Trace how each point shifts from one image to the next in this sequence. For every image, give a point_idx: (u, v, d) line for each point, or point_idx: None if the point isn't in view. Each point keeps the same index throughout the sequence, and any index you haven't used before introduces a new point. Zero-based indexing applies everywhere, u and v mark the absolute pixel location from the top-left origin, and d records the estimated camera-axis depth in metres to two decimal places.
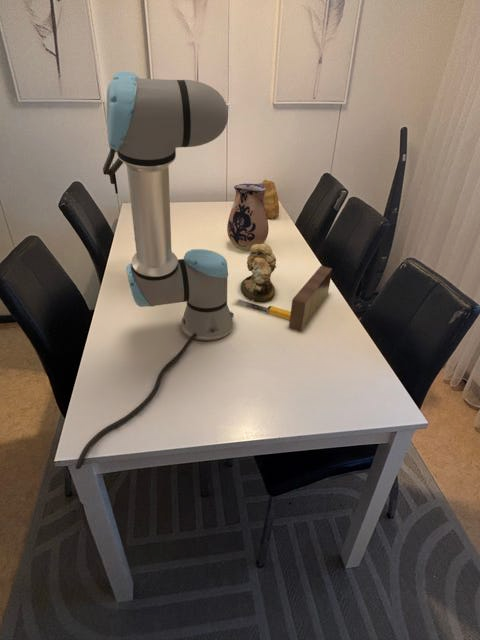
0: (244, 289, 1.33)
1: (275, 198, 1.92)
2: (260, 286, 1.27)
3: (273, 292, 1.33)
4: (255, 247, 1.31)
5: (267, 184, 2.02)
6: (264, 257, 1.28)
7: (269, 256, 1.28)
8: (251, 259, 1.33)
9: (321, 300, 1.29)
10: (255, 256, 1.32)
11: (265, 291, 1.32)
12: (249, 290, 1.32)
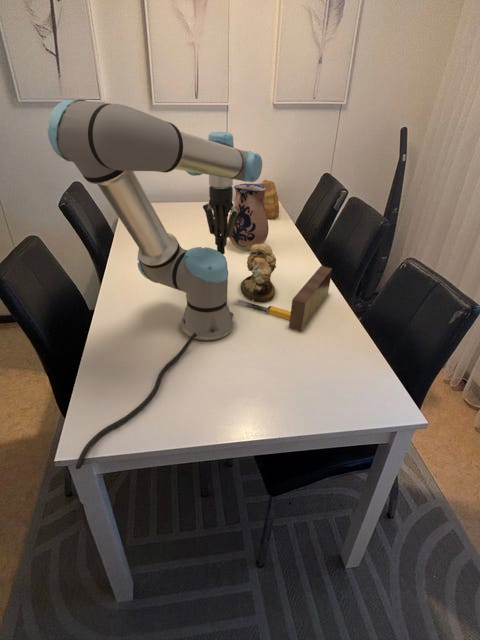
0: (244, 289, 1.33)
1: (275, 198, 1.92)
2: (260, 286, 1.27)
3: (273, 292, 1.33)
4: (255, 247, 1.31)
5: (267, 184, 2.02)
6: (264, 257, 1.28)
7: (269, 256, 1.28)
8: (251, 259, 1.33)
9: (321, 300, 1.29)
10: (255, 256, 1.32)
11: (265, 291, 1.32)
12: (249, 290, 1.32)
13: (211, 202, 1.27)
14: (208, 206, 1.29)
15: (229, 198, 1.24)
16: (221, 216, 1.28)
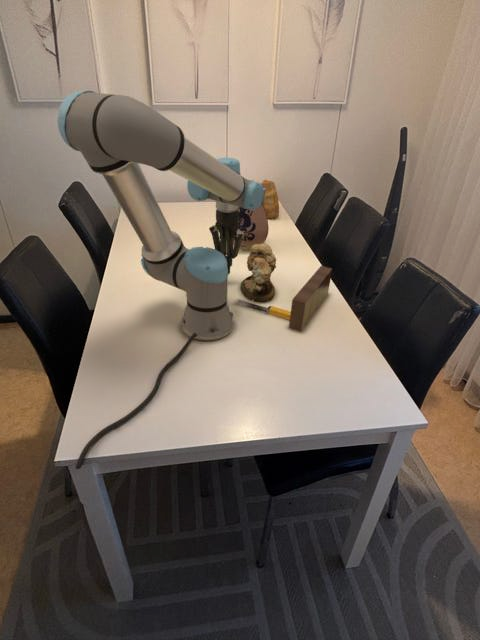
0: (244, 289, 1.33)
1: (275, 198, 1.92)
2: (260, 286, 1.27)
3: (273, 292, 1.33)
4: (255, 247, 1.31)
5: (267, 184, 2.02)
6: (264, 257, 1.28)
7: (269, 256, 1.28)
8: (251, 259, 1.33)
9: (321, 300, 1.29)
10: (255, 256, 1.32)
11: (265, 291, 1.32)
12: (249, 290, 1.32)
13: (217, 224, 1.30)
14: (214, 228, 1.32)
15: (235, 221, 1.27)
16: (227, 238, 1.30)
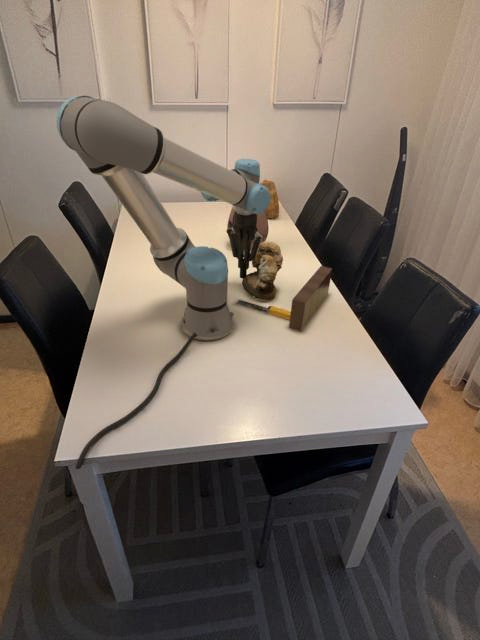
0: (246, 284, 1.32)
1: (275, 198, 1.92)
2: (264, 283, 1.27)
3: (274, 292, 1.33)
4: (264, 244, 1.31)
5: (267, 184, 2.02)
6: (272, 255, 1.28)
7: (277, 255, 1.28)
8: (258, 256, 1.32)
9: (321, 300, 1.29)
10: (262, 253, 1.32)
11: (267, 289, 1.31)
12: (251, 286, 1.31)
13: (235, 227, 1.28)
14: (232, 230, 1.30)
15: (254, 224, 1.24)
16: (245, 241, 1.28)
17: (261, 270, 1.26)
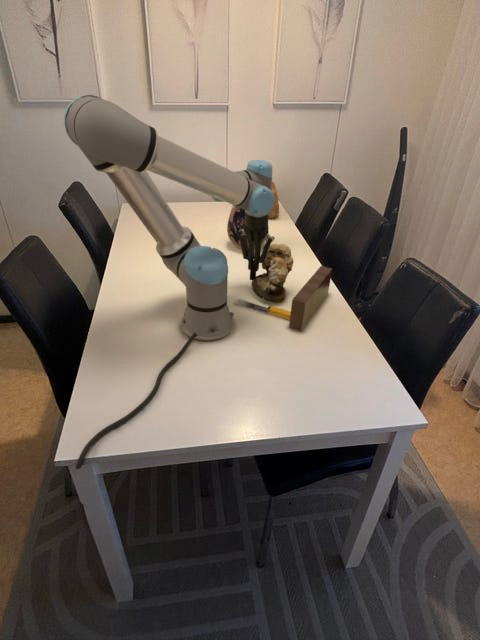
0: (256, 286, 1.31)
1: (275, 198, 1.92)
2: (274, 286, 1.26)
3: (284, 294, 1.32)
4: (274, 246, 1.30)
5: None
6: (283, 258, 1.27)
7: (288, 258, 1.27)
8: (268, 257, 1.31)
9: (321, 300, 1.29)
10: (273, 255, 1.31)
11: (277, 292, 1.30)
12: (261, 288, 1.30)
13: (246, 228, 1.26)
14: (242, 232, 1.28)
15: (265, 226, 1.23)
16: (256, 243, 1.27)
17: (271, 272, 1.25)
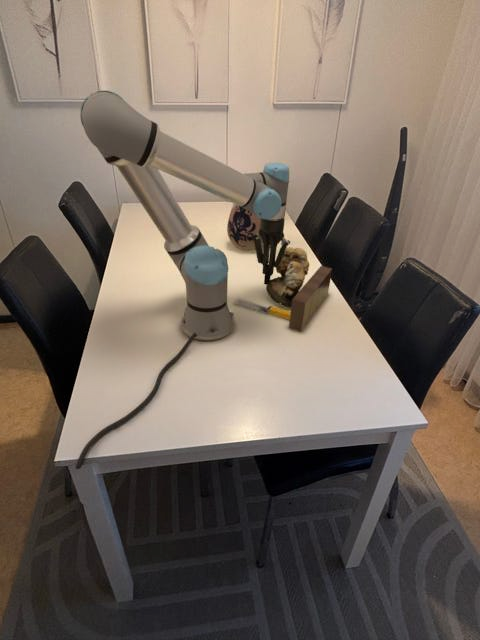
0: (271, 291, 1.29)
1: None
2: (291, 290, 1.24)
3: None
4: (290, 250, 1.28)
5: None
6: (299, 262, 1.25)
7: (304, 261, 1.25)
8: (283, 261, 1.29)
9: (321, 300, 1.29)
10: (288, 259, 1.28)
11: (293, 296, 1.28)
12: (277, 293, 1.27)
13: (261, 232, 1.24)
14: (257, 236, 1.26)
15: (281, 229, 1.21)
16: (271, 246, 1.25)
17: (288, 277, 1.23)
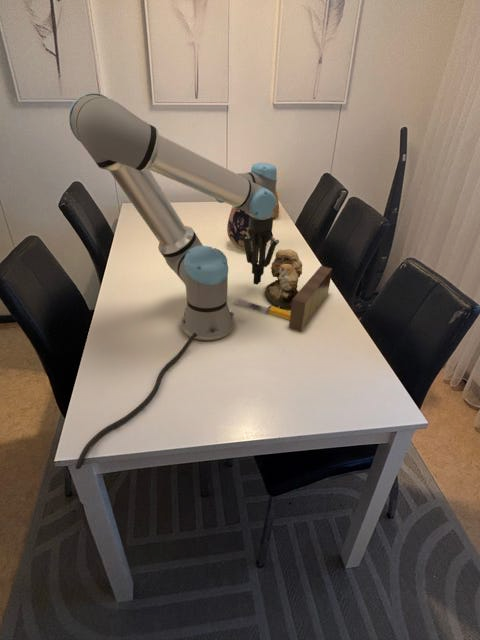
0: (269, 296, 1.30)
1: None
2: (287, 293, 1.24)
3: None
4: (280, 253, 1.28)
5: None
6: (290, 263, 1.25)
7: (296, 262, 1.25)
8: (276, 265, 1.30)
9: (321, 300, 1.29)
10: (280, 262, 1.29)
11: (291, 298, 1.29)
12: (275, 297, 1.28)
13: (250, 232, 1.26)
14: (246, 235, 1.28)
15: (269, 229, 1.22)
16: (260, 246, 1.26)
17: (281, 280, 1.23)
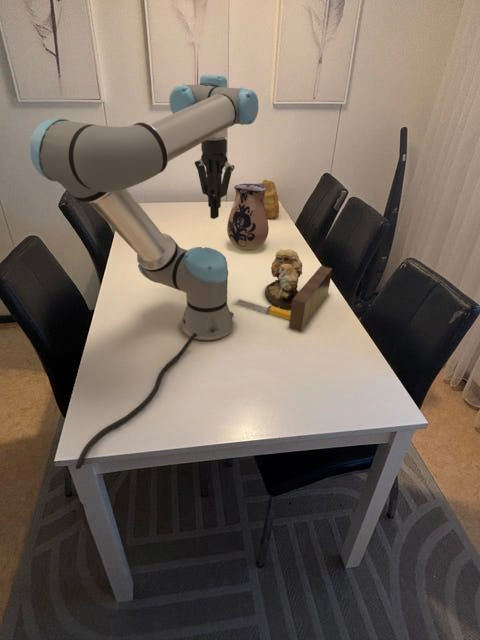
0: (269, 296, 1.30)
1: (275, 198, 1.92)
2: (287, 293, 1.24)
3: None
4: (281, 253, 1.28)
5: (267, 184, 2.02)
6: (291, 263, 1.25)
7: (296, 262, 1.25)
8: (276, 265, 1.30)
9: (321, 300, 1.29)
10: (280, 262, 1.29)
11: (291, 298, 1.29)
12: (275, 297, 1.28)
13: (203, 157, 1.16)
14: (200, 162, 1.18)
15: (223, 151, 1.13)
16: (214, 172, 1.16)
17: (282, 280, 1.23)
